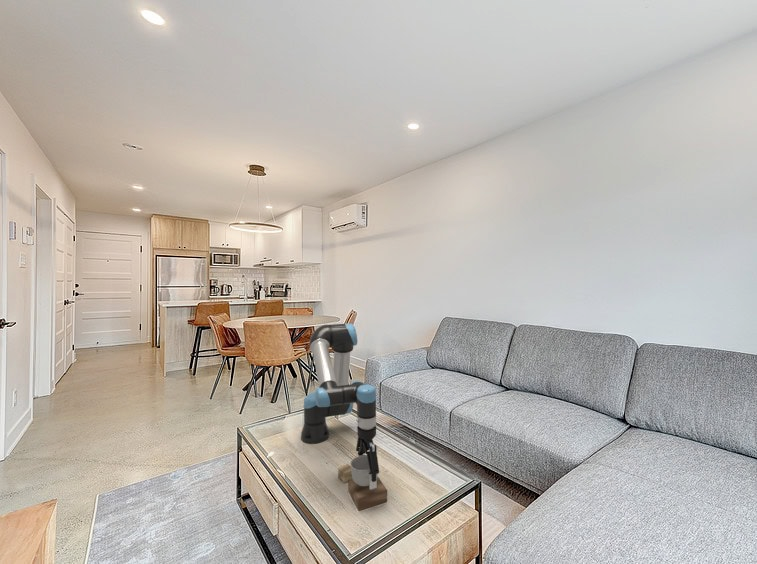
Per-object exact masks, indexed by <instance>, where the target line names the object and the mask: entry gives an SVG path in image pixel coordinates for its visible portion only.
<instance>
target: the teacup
mask: <svg viewBox="0 0 757 564" xmlns="http://www.w3.org/2000/svg"><path fill="white" fill-rule="evenodd" d="M349 465H350V466H351V473H352V478H353V481H354V482H355V483H356V484H358V485H360V486H369V472H370V468H369V463H368V458H367V454H365V455H364V454H363V455H361V456H359V455H357V456H356V457H354V458H352V459H351V461H350V464H349ZM378 475H379V473H378V474H377V476H378ZM378 477H379V476H378Z"/></svg>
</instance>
